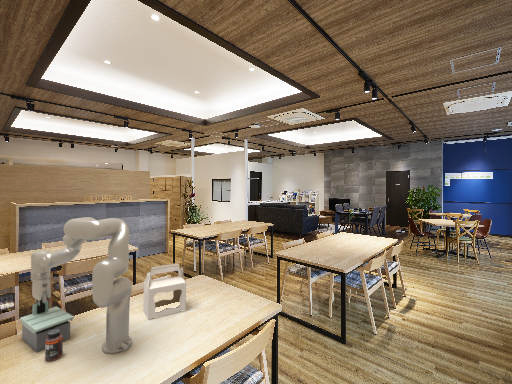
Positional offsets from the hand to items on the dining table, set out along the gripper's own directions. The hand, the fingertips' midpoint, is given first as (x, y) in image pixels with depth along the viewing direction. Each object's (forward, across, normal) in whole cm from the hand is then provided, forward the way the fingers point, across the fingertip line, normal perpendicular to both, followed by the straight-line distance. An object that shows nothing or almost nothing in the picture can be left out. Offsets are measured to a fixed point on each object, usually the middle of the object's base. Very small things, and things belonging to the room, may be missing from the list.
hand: (40, 312), depth 129 cm
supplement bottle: (+11, -27, +4) cm, 29 cm away
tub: (+11, -8, 0) cm, 13 cm away
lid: (+3, -8, 0) cm, 8 cm away
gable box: (+12, -30, -51) cm, 61 cm away
